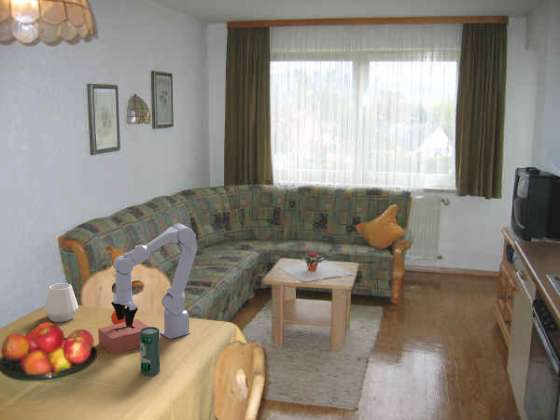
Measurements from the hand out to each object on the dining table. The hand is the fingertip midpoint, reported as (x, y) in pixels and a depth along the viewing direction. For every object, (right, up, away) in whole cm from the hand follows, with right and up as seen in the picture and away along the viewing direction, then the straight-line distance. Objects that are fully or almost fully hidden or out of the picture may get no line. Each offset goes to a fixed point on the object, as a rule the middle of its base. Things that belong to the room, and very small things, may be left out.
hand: (124, 322), depth 213 cm
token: (0, -8, +1) cm, 8 cm away
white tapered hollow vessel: (-34, -3, +25) cm, 42 cm away
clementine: (-7, -5, +18) cm, 20 cm away
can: (+14, -13, -20) cm, 28 cm away
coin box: (0, -8, +2) cm, 8 cm away
